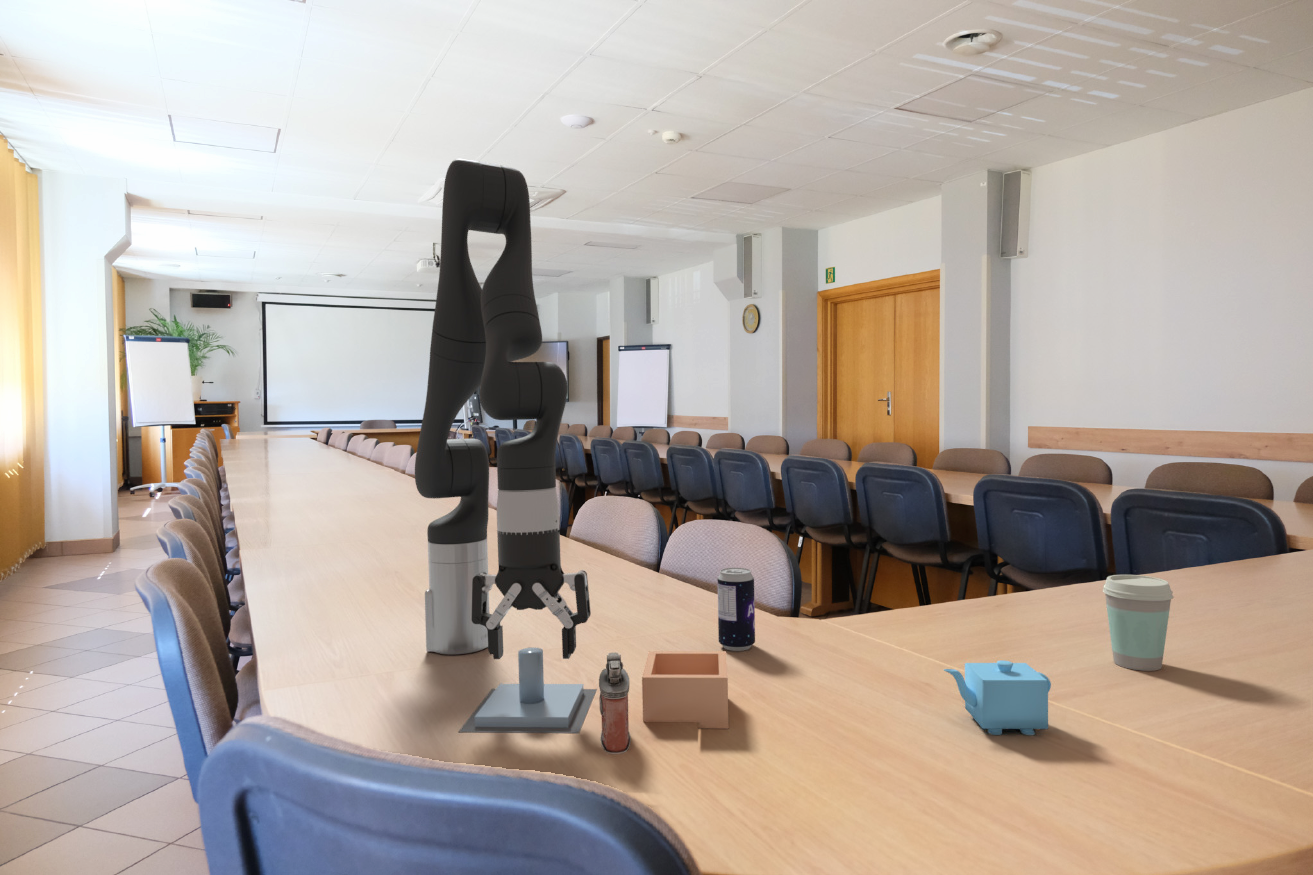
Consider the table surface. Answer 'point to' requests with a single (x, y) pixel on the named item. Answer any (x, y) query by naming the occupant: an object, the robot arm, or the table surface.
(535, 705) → the lid
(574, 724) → the mat
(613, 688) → the lighter
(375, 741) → the table surface
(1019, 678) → the teapot
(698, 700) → the tan open box
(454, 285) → the robot arm
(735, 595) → the beverage can
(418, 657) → the table surface
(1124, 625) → the coffee cup
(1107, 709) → the table surface
